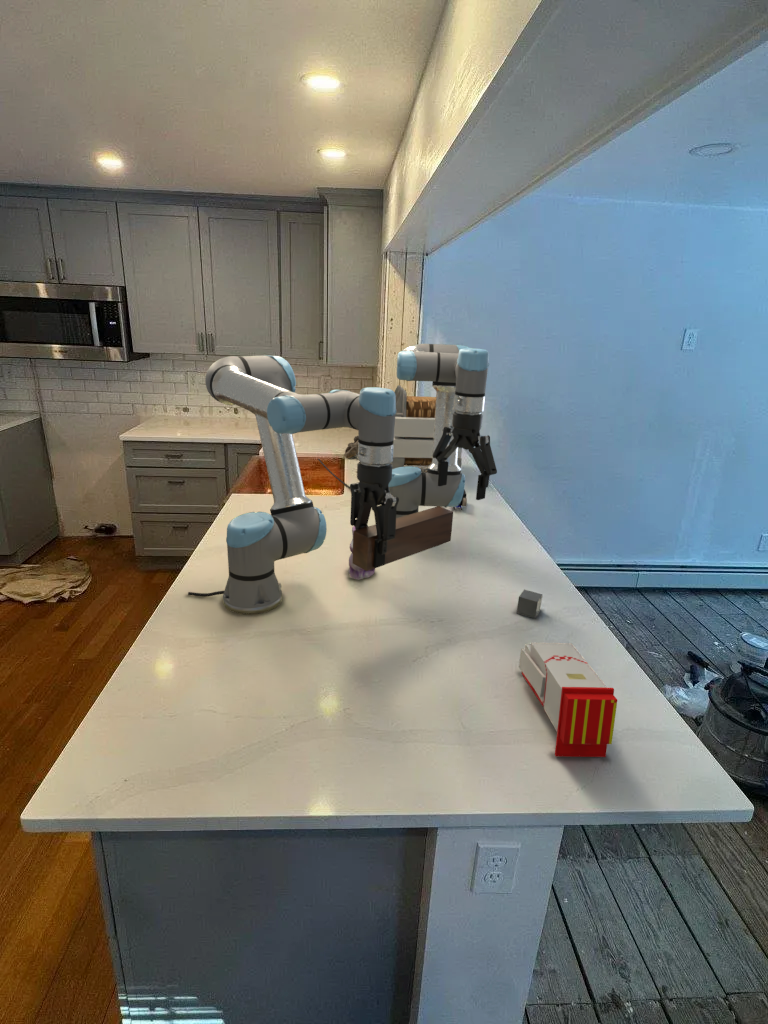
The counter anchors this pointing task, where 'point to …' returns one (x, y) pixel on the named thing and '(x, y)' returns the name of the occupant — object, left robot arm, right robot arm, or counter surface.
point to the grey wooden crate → (414, 430)
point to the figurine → (355, 570)
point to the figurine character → (462, 501)
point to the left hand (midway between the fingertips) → (370, 561)
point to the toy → (570, 698)
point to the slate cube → (529, 603)
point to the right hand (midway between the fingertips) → (460, 492)
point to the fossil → (352, 448)
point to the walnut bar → (405, 536)
